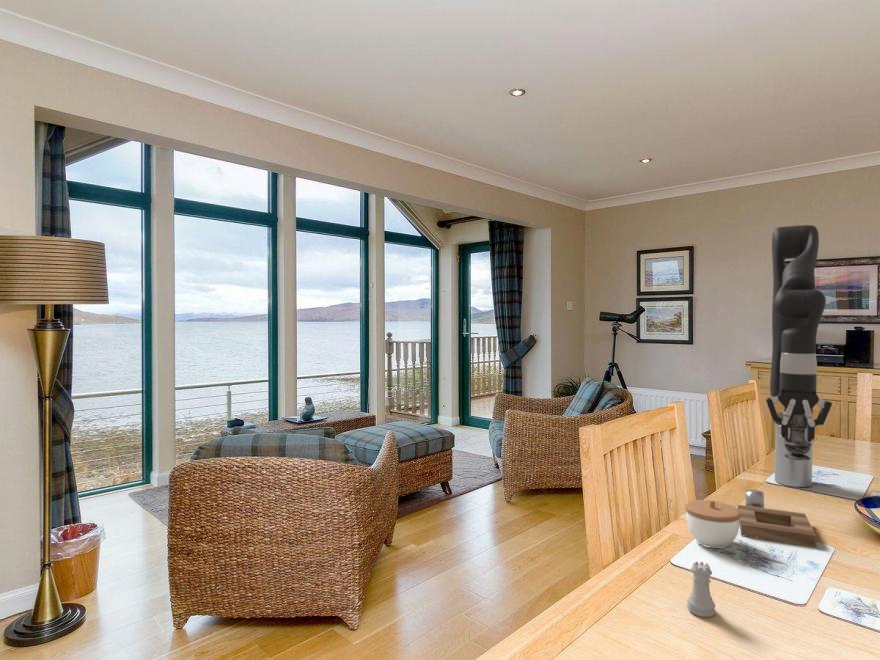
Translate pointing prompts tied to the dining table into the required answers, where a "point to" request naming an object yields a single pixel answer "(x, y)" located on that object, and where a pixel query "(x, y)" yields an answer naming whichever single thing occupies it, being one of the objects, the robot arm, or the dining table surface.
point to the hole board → (794, 534)
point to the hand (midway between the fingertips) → (797, 439)
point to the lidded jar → (712, 522)
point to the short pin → (754, 498)
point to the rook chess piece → (701, 592)
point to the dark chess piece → (797, 438)
